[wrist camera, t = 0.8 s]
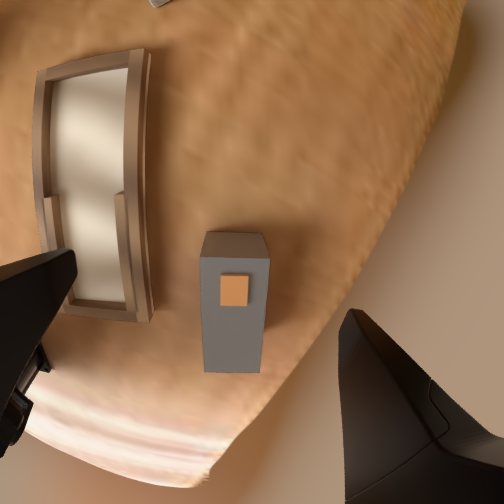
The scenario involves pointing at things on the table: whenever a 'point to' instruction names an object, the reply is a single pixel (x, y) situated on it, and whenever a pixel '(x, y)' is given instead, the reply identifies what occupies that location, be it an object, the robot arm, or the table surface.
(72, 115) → the tray
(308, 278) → the table surface
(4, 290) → the robot arm
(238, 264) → the grey box with label
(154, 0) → the medicine box
